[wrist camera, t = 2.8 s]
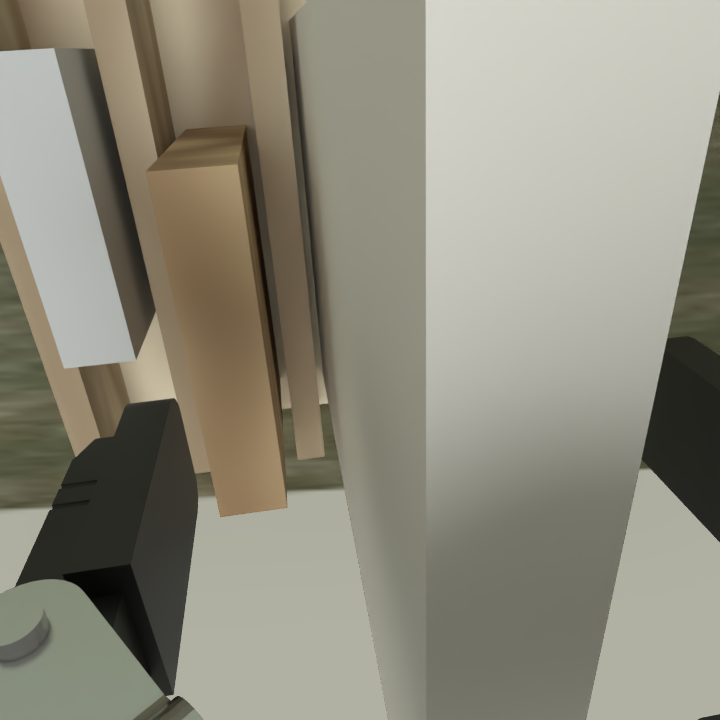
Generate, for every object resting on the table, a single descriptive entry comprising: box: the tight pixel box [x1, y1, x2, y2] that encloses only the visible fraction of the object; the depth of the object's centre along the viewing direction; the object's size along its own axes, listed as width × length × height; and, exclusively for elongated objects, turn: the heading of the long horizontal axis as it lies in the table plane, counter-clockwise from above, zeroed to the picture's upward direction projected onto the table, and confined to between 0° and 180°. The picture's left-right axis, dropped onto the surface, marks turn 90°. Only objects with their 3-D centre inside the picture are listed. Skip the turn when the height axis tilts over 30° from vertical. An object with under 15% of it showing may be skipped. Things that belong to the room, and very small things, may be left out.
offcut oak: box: [145, 125, 287, 517], centre depth 19 cm, size 2×10×8 cm, turn 3°
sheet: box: [289, 0, 720, 720], centre depth 14 cm, size 2×13×18 cm, turn 3°
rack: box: [0, 0, 328, 474], centre depth 20 cm, size 16×16×5 cm
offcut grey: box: [0, 48, 156, 369], centre depth 18 cm, size 2×8×6 cm, turn 3°
